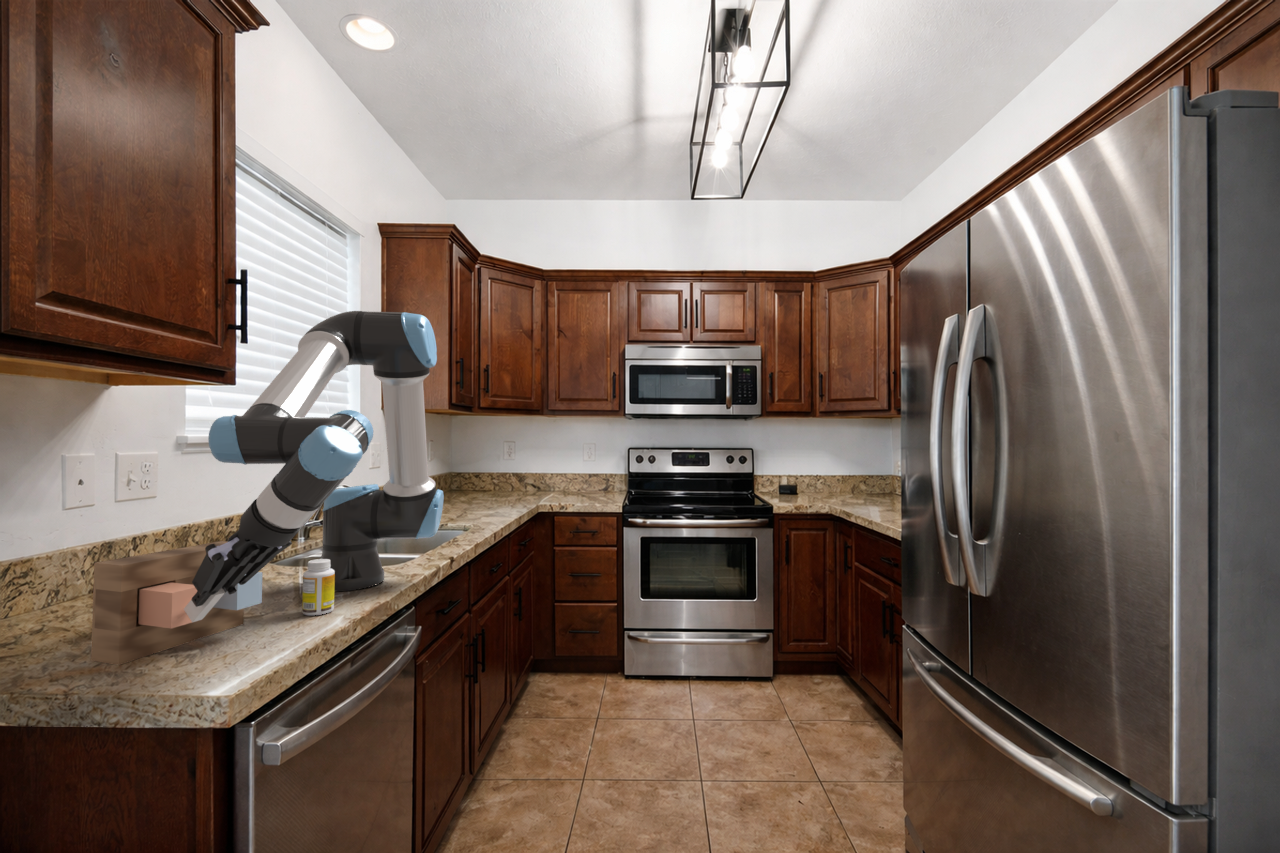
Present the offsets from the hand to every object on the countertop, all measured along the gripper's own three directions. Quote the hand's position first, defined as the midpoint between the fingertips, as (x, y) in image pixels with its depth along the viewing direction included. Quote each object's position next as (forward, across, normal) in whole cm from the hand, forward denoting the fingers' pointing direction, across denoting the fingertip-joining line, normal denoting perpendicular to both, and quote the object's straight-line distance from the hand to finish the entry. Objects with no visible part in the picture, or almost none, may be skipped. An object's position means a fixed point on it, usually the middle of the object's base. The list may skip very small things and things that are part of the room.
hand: (192, 614), depth 89 cm
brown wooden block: (+13, -5, -3) cm, 14 cm away
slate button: (+4, -10, -2) cm, 11 cm away
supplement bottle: (+6, -25, +5) cm, 26 cm away
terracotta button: (+4, 0, -2) cm, 5 cm away
